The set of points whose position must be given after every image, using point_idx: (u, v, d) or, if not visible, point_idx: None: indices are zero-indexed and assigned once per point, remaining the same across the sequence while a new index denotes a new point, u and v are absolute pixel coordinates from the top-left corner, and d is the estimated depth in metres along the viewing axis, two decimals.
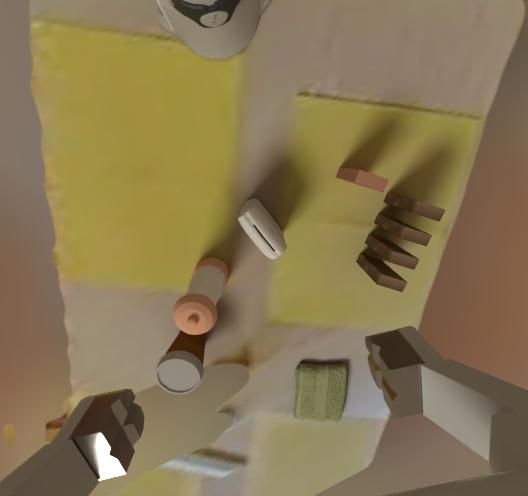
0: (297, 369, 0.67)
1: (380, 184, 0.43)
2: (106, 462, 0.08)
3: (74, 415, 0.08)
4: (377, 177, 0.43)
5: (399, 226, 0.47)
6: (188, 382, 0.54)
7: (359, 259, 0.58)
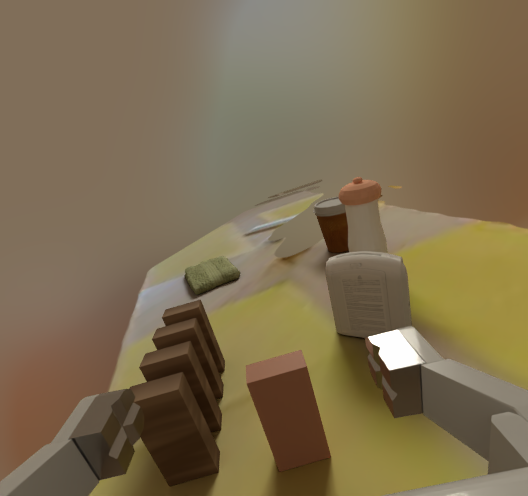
0: (239, 272, 0.69)
1: (257, 370, 0.23)
2: (105, 463, 0.08)
3: (73, 414, 0.08)
4: (268, 374, 0.22)
5: (193, 363, 0.29)
6: (322, 205, 0.67)
7: (222, 359, 0.41)
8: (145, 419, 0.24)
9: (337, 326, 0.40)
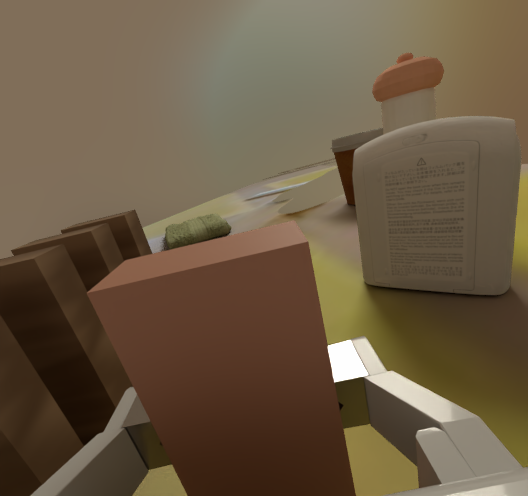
0: (229, 226, 0.53)
1: (144, 265, 0.07)
2: (157, 452, 0.08)
3: (122, 404, 0.08)
4: (170, 269, 0.06)
5: (56, 287, 0.13)
6: None
7: None
8: None
9: (367, 271, 0.23)
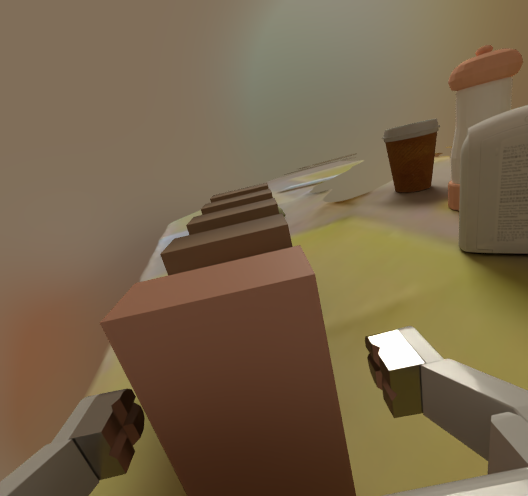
0: (283, 213, 0.56)
1: (154, 291, 0.07)
2: (106, 462, 0.08)
3: (74, 414, 0.08)
4: (180, 299, 0.06)
5: None
6: None
7: None
8: None
9: (469, 239, 0.26)
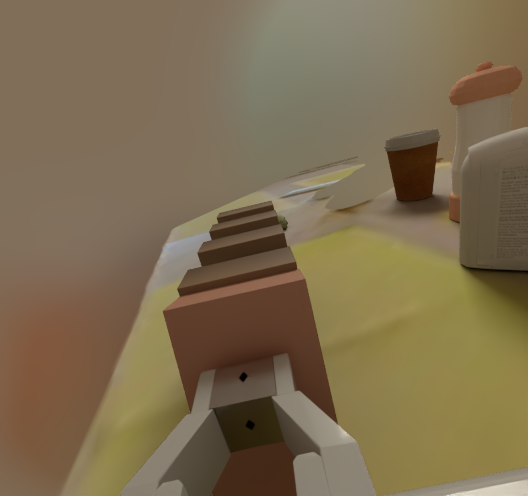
0: (286, 221, 0.56)
1: (197, 296, 0.11)
2: (241, 434, 0.08)
3: (201, 387, 0.08)
4: (216, 297, 0.10)
5: None
6: None
7: None
8: None
9: (470, 255, 0.27)
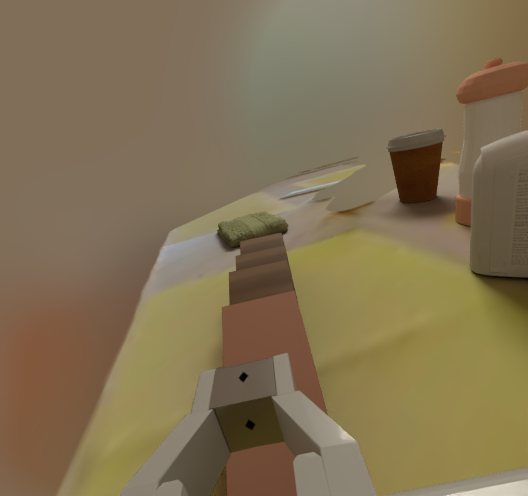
0: (286, 224, 0.54)
1: None
2: (241, 434, 0.08)
3: (201, 387, 0.08)
4: None
5: (287, 259, 0.26)
6: None
7: None
8: (244, 289, 0.22)
9: (482, 261, 0.25)
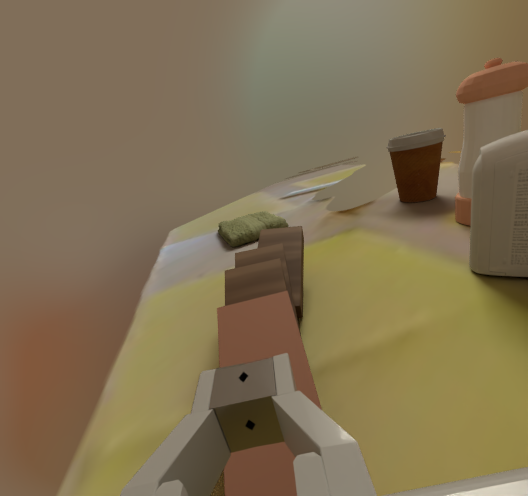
0: (287, 224, 0.55)
1: None
2: (241, 434, 0.08)
3: (201, 387, 0.08)
4: None
5: (284, 256, 0.27)
6: None
7: None
8: (238, 286, 0.23)
9: (481, 261, 0.25)
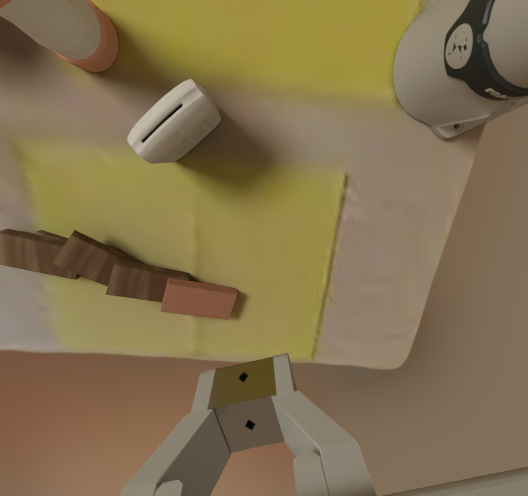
0: None
1: (162, 302, 0.43)
2: (241, 434, 0.08)
3: (201, 387, 0.08)
4: (163, 300, 0.42)
5: (84, 240, 0.39)
6: None
7: None
8: (123, 289, 0.41)
9: (173, 161, 0.39)
